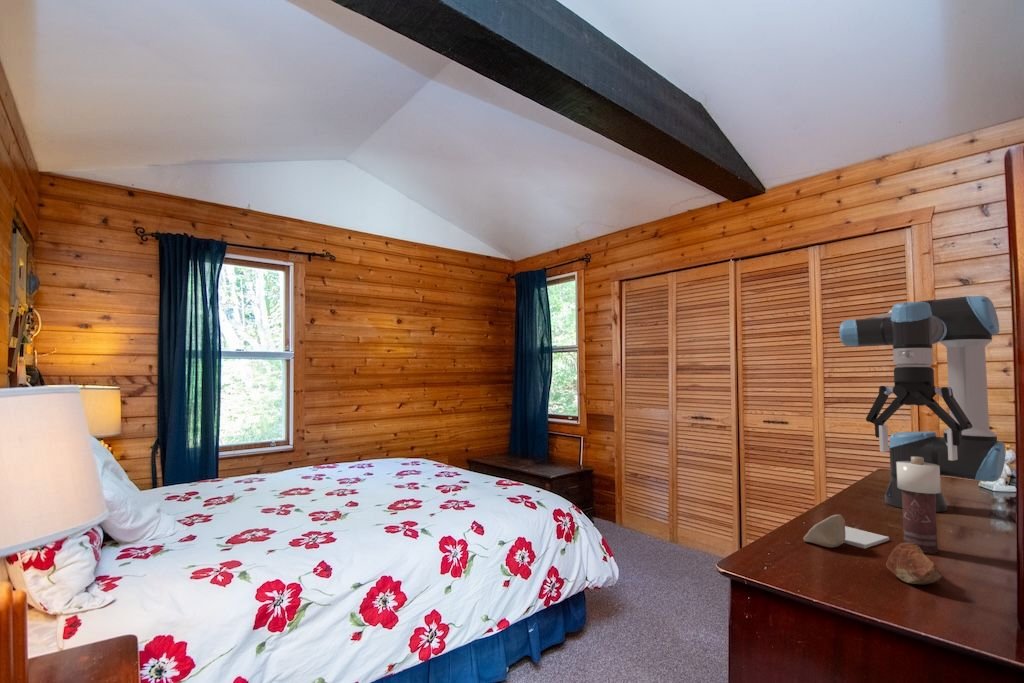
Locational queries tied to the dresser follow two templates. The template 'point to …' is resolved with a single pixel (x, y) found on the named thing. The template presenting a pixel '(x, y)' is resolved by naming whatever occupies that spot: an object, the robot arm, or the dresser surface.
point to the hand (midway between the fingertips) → (916, 455)
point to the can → (920, 520)
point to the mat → (863, 538)
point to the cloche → (918, 476)
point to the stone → (827, 532)
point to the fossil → (912, 565)
